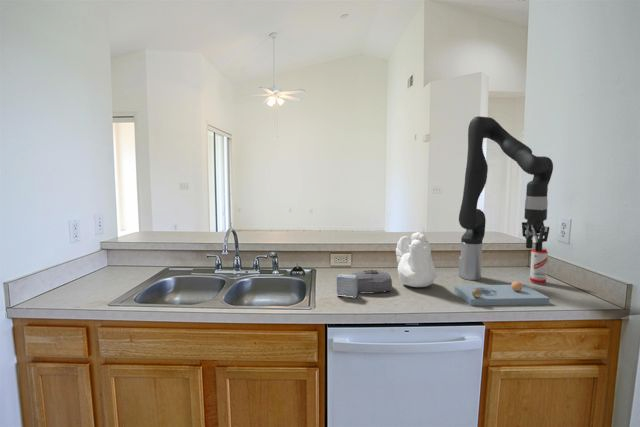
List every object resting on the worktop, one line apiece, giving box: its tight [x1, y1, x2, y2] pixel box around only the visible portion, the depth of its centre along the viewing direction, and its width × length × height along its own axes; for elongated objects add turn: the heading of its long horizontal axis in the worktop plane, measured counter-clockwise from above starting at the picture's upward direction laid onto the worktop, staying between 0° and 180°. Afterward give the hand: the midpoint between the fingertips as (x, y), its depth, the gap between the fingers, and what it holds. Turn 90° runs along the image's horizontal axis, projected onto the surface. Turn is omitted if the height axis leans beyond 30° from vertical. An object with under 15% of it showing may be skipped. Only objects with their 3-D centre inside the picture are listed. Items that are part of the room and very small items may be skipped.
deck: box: [453, 283, 550, 306], centre depth 138 cm, size 30×16×2 cm, turn 90°
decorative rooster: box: [395, 231, 438, 288], centre depth 157 cm, size 25×16×25 cm, turn 6°
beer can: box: [529, 246, 549, 285], centre depth 155 cm, size 6×6×16 cm
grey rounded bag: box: [350, 269, 393, 293], centre depth 151 cm, size 15×8×20 cm
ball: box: [510, 280, 522, 291], centre depth 138 cm, size 4×4×4 cm
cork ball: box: [472, 289, 482, 298], centre depth 131 cm, size 4×4×4 cm
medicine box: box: [336, 273, 358, 297], centre depth 142 cm, size 8×4×9 cm, turn 71°
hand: (533, 249), depth 136 cm, fingers open, 5 cm apart
